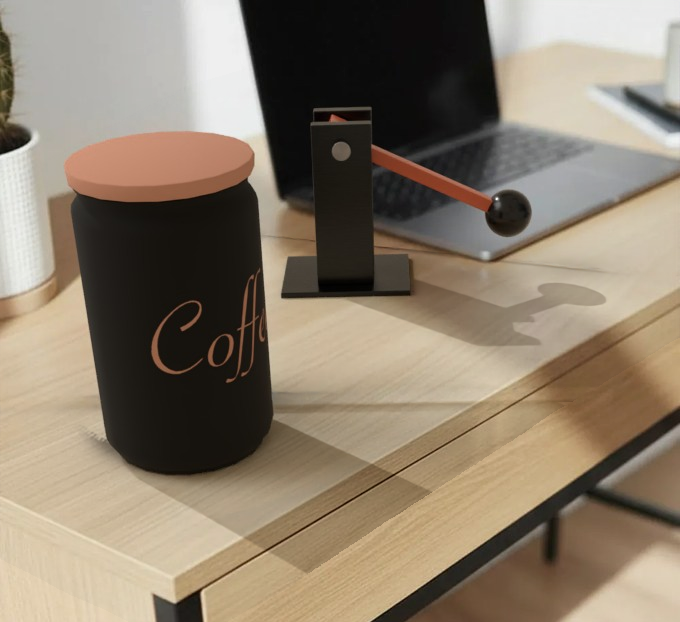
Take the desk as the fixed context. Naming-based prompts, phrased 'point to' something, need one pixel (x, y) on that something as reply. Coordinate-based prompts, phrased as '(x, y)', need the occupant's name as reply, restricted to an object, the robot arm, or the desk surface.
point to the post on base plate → (344, 217)
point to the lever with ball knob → (463, 193)
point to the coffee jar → (174, 297)
